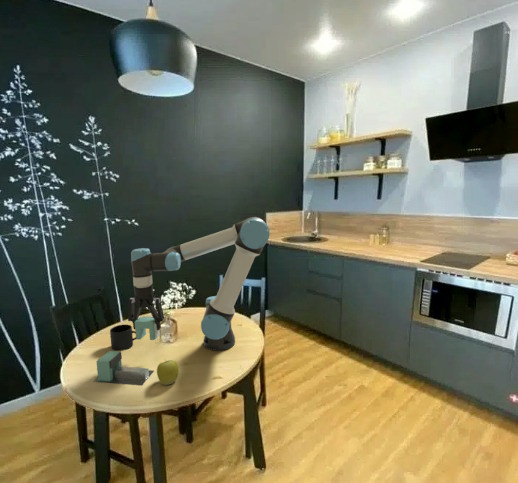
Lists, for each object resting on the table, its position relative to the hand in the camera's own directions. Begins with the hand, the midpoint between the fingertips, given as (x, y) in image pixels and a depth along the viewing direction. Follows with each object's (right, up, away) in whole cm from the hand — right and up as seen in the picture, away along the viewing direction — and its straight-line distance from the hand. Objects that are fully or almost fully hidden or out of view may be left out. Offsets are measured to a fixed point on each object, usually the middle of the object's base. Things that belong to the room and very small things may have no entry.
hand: (147, 336), depth 134 cm
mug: (-16, -9, +14) cm, 23 cm away
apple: (+13, -13, -14) cm, 23 cm away
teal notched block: (-11, -12, -11) cm, 19 cm away
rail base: (-5, -13, -11) cm, 18 cm away
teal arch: (0, 0, 0) cm, 0 cm away
